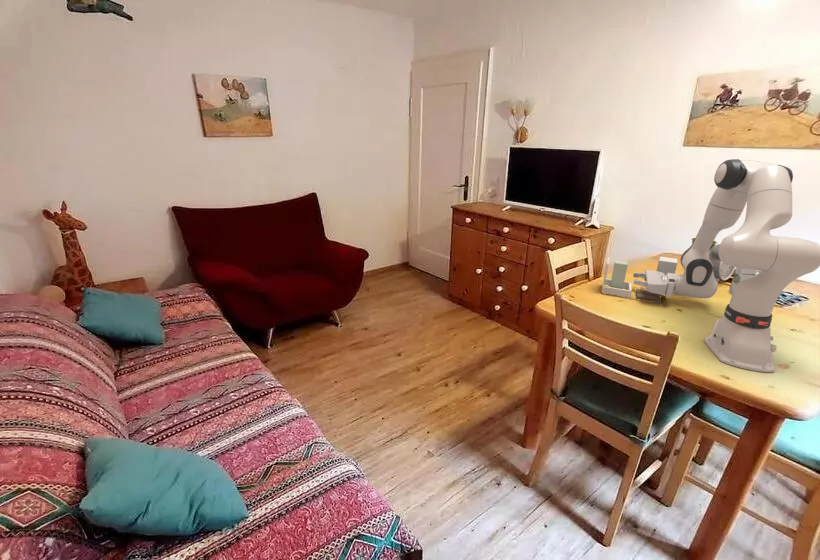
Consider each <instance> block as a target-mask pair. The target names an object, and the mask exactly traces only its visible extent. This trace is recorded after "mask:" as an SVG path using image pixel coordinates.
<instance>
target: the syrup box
mask: <svg viewBox="0 0 820 560" xmlns="http://www.w3.org/2000/svg"><path fill="white" fill-rule="evenodd" d="M757 274H758V270H753V269H743V268H737V267H735V270H734V272H733V277H732V281H731V283H730V287H729V289H728V291H729V293H730V294H732V293H733V290H734V287H735V285H736V284H737V283H738V282H740V281H742V280H744V279H748V278H751V277H754V276H756V275H757Z"/></svg>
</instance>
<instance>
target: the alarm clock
mask: <svg viewBox="0 0 820 560" xmlns="http://www.w3.org/2000/svg"><path fill="white" fill-rule="evenodd" d="M726 237H727V236H725V237H724V238H723V239H722V240H721V242H722V241H723V240H724V239H725V238H726ZM719 245H720V243H719V244H718V243H717V244H715V246H714V247H712V249H711V250H710V251H709V259H710V261H711V263H712V265H713V273H714V276H715V279H716V281H717V282H718V283H719V281H720V280H721V281H727V280H729V279H730V278H731V277H732V275H734V273H735V270H736V267H734V266H730V265H727V264H724V263H723V262H722V261H721V260H720V258H719V255H718V248H719Z"/></svg>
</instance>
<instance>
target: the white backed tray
mask: <svg viewBox="0 0 820 560" xmlns="http://www.w3.org/2000/svg"><path fill="white" fill-rule="evenodd" d="M609 265H610V257H609V256H608V257H607V259H606V265H605V269H604V274H603V281H602V285H601V286H602V287H601V292H602V293H605V294H604V295H606V294H611V295H610V296H612V295H617V296H616V297H619V296H622V297H621V298H625V297H627V298H626V299H630V298H631V297H632V292H633V289H632V288H633V284H632V282H629V281H625V280H624V285H623V289H619V288H613V287H607V286H604V285H608V286H610V283H611V278H607V274H608V269H609ZM626 289H628V290H626Z"/></svg>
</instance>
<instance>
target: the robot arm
mask: <svg viewBox="0 0 820 560" xmlns="http://www.w3.org/2000/svg"><path fill="white" fill-rule="evenodd" d="M793 179H794V173H793V170H792V169H791V168H790V167H788V166H785V165H782V164H773V163H770V162H769V163H767V162H763V161H759V160H747V159H746V160H745V159H744V160H743V159H738V158H737V159H735V158H734V159H726V160H724V161H723V162H722V163H721V164H720V165H718V167H717V169H716V171H715V174H714V179H713V181H714V183H715V186H716V187H717V188H716V189H715V190H714V193H713V194H712V196H711V198H710V200H709V203H708V204H707V207H706V209H705V213H704V217H703V221H702V223H701V227H700V228H699V230H698V232H697V233H696V236H695V237H694V238H695V240H694V242H693V244H692V243H691V245H690V246H689V247H688V248H687V249H686V250H685V251H684V252H683V253H682V254H681V257H680V264H681V266H682V268H683V271H684V272H683V273H682V274H680V273H675V274H673V273H667V274H666V275H665V274H664V273H662V272H658V271H657V270H652V269H646V270H645V271H644V272H633V273H632V276H633V278H634V279H633V284H634V285H638V286H640V287H644V288H645V290H646V291H648V292H651V293H656V294H660V296H663V295H664V296H665V297H668V298H670V297H672V296H673V295H675V296H686V297H688V298H694V299H710V298H712V297H714V296H715V294H716V292H717V290H718V287H719V281H718V282H717V281H716V280H717V279H715V276H714V273H713V265H712V263H711V261H710V259H709V249H710V247H711V245H712V243H713V241H715V239H716V237H717V236H718V234H719V233H720V232H721V231H722V230H726V229H729V228H731V227H733V226H735V224H736V223H737V221H738V220H739V219H740V217H741V215H742V213H743V212H744V209H745V208H746V211H745V219H744V221H743V224H742V225H741V226H740V227H739V229H738V230H736V231H735V232H734V233H731V234H729V235H727V236H725V237H726V238H725V237H724V238H725V239H724V238H723V239H724V240H723V239H722V240H723V241H722V240H721V242H720V243H719V244H720V245H719V248H718V255H719V258H720V260H721V261H722V262H723V263H724V264H727V265H730V266H734V267H735V268H736V267H737V268H743V269H753V270H757V271H760V272H757V274H756V276H754V277H751V278H748V279H744V280H742V281H740V282H738V283H737V284H736V285H735V287H734V290H733V293H731V297H730V300H729V303H728V304H727V305H726V307H725V309H724V313H723V316H722V317H720V318H719V319H717V320H716V322H714V323H715V324H714V326H713V329H712V332H711V333H710V336H706V337H704V339H703V342H704V343H705V344H706V346H708V348H709V349H710V350H711V352H712V353H713V354H714V355H715V356H716V357H717V359H719V361H720V362H722V363H724V364H727V365H729V366H732V367H736V368H740V369H745V370H750V371H754V372H761V373H762V372H763V373H774V372H775V363H774V362H775V361H774V355H773V353H776V350H777V344H772V342H771V341H774V336H771V330H772V329H771V324H772V321H773V319H772V318H773V314H772V313H773V310H774V307H775V304H776V303H777V300H778V299H779V297H780V295H781V294H782V291H784V289H785V288H786V287H787V286H788V285H790V284H791V283H792V282H794V281H796V280H797V279H799V278H800V277H802V276H805V275H808V274H810V273H811V274H812V272H815V271H817V269H818V268H819V267H820V244H819V243H818V242H815V241H811V240H808V239H803V238H798V237H789V236H786V237H785V236H776V235H771V233H770V232H771V230H772V231H773V230H775V229H778V228H781V227H783V226H785V225H786V224H788V223H789V222H790V220H792V217H793V186H792V182H793ZM635 278H636V279H635ZM637 278H641V279H644V280H640V279H637Z"/></svg>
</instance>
